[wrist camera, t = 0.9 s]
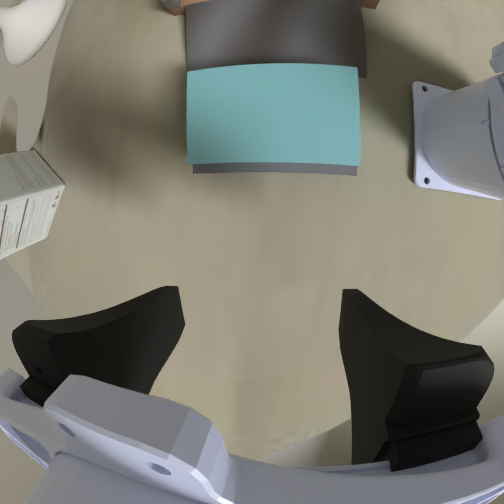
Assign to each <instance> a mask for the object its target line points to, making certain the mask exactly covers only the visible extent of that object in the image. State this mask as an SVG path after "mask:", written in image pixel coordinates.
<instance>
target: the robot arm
mask: <svg viewBox="0 0 504 504" xmlns="http://www.w3.org/2000/svg"><path fill="white" fill-rule="evenodd" d="M489 63H490V65H491V67H492V68H493V70H494V72H495V73H499V72H503V71H504V42H502V43H500V44H498V45H497V46H495V47H494V48H493V49H492V59H491V60H490V62H489ZM422 86H423V87H424V88H425V89H426V92H425V91H423V89H422ZM412 96H413V111H414V183H415V184H416V185H417V186H419V187H425V188H432V189H439V190H446V191H452V192H458V193H464V194H470V195H475V196H481V197H486V198H491V199H496V200H501V199H503V200H504V72H503V73H501V74H498V75H496V76H494V77H492V78H489V79H486V80H483V81H480V82H478V83H475V84H472V85H469V86H466V87H464V88H461V89H458V90H456V91H452V90H449V89H445V88H442V87H438V86H435V85H431V84H427V83H423V82H419V81H416V82H414V83H413V84H412ZM425 178H427V179H428V182H427V183H426V184H425V183H424V179H425ZM184 326H185V321H184V316H183V311H182V306H181V300H180V295H179V289H178V286H164V287H160V288H157V289H155V290H152V291H150V292H148V293H145V294H143V295H141V296H138V297H136V298H134V299H131V300H129V301H126V302H124V303H121V304H119V305H116V306H114V307H111V308H108V309H105V310H102V311H99V312H95V313H91V314H87V315H82V316H77V317H72V318H65V319H56V320H28V321H25V322H24V323H22V324H21V325H20V326H18V327H17V328H16V329H15V330H13V333H12V340H13V344H14V347H15V350H16V352H17V354H18V356H19V358H20V360H21V362H22V364H23V365H24V367H25V369H26V371H27V372H28V374H29V377H28V378H27V379H26V380H25V379H24V378H23V376H21V375H20V374H19V373H17V372H15V371H14V370H12V369H10V368H9V369H8V370H7V371H5V372H4V373H3V374H2V375H1V376H0V427H1V429H2V430H3V431H4V432H5V433H6V434H7V436H8V437H9V438H10V439H11V440H13V441H14V442H15V443H16V444H17V445H18V446H19V447H21V448H22V449H23V450H24V451H25V452H26V453H28V454H29V455H30V456H31V457H32V458H33V459H35V460H36V461H37V462H38V463H40V464H41V465H42V466H44V467H45V468H46V471H45V472H44V474H43V475H42V476H41V478H40V479H39V481H38V482H37V483H36V485H35V486H34V488H33V489H32V491H31V492H30V494H29V495H28V497H27V498H26V500H25V501H24V503H23V504H487V503H489V502H491V501H492V500H494V499H495V498H496V497H498V496H499V495H500V494H502V493H503V492H504V415H502V416H500V417H498V418H495V419H493V420H490V421H488V422H486V423H485V424H483V425H482V426H481V427H480V428H479V426H478V424H477V422H476V420H478V418H479V416H480V414H479V412H478V410H477V408H476V407H477V406H478V404H479V402H480V401H481V399H482V398H483V396H484V394H485V393H486V391H487V389H488V387H489V385H490V383H491V381H492V378H493V374H494V364H493V362H492V361H491V359H490V358H489V356H488V355H487V353H486V352H485V350H484V349H483V348H482V346H477V345H471V344H465V343H459V342H455V341H451V340H447V339H443V338H440V337H437V336H434V335H431V334H429V333H426V332H424V331H421V330H419V329H417V328H415V327H413V326H411V325H409V324H407V323H405V322H403V321H401V320H400V319H398V318H396V317H395V316H393V315H392V314H390V313H389V312H387V311H386V310H384V309H383V308H382V307H380V306H379V305H378V304H376V303H375V302H374V301H372V300H371V299H370V298H369V297H367V296H366V295H365V294H363V293H362V292H361V291H359V290H358V289H343V292H342V303H341V313H340V322H339V340H340V350H341V354H342V359H343V363H344V368H345V372H346V377H347V381H348V386H349V392H350V400H351V417H352V463H351V465H347V466H331V467H284V466H279V465H274V464H269V463H265V462H260V461H256V460H252V459H248V458H244V457H240V456H237V455H233V454H229V453H227V451H226V448H225V444H224V441H223V437H222V436H221V434H220V433H219V432H218V430H217V429H216V427H215V426H214V425H213V423H212V422H211V421H210V420H209V419H208V418H206V417H204V416H203V415H201V414H200V413H198V412H197V411H195V410H194V409H192V408H191V407H188V406H185V405H182V404H180V403H177V402H174V401H171V400H169V399H165V398H160V397H156V396H152V395H149V392H150V390H151V388H152V386H153V383H154V381H155V379H156V378H157V376H158V374H159V372H160V371H161V369H162V367H163V366H164V364H165V363H166V361H167V359H168V358H169V356H170V355H171V353H172V351H173V350H174V348H175V346H176V345H177V343H178V341H179V339H180V336H181V334H182V332H183V329H184Z"/></svg>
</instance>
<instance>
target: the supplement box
mask: <svg viewBox="0 0 504 504" xmlns="http://www.w3.org/2000/svg"><path fill="white" fill-rule="evenodd" d="M64 187H65V184H64V183H63V182H62V181H61V180H60V179H59V178H58V176H57V175H56V174H55V173H54V172H53V171H52V170H51V169H50V167H49V166H48V165H47V164H46V163H45V162H44V161H43V159H42V158H41V157H40V156H39V155H38V153H37V152H36V151H35V150H31V151H22V152H14V153H7V154H1V155H0V259H2V258H4V257H6V256H8V255H10V254H12V253H14V252H17V251H19V250H21V249H23V248H25V247H27V246H30V245H32V244H34V243H36V242H38V241H41V240H43V239H45V238H47V235H48V232H49V230H50V226H51V223H52V220H53V217H54V215H55V212H56V209H57V206H58V203H59V201H60V198H61V195H62V193H63V190H64Z"/></svg>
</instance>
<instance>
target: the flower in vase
mask: <svg viewBox="0 0 504 504" xmlns="http://www.w3.org/2000/svg"><path fill="white" fill-rule="evenodd" d="M66 3H67V0H26V1H24V2H22V3H21V4H19V5H17V6H15V7H0V29H1V30H2V32H3V40H4V49H5V54H6V58H7V60H8V62H9V63H10V64H12V65H13V66H19V65H21V64H23V63H25V62H27V61H29V60H30V59H31V58H32V57H33V56H35V55H36V53H37V52H38V51H39V50H40V49H41V48H42V47H43V45H44V44H45V43H46V41H47V40H48V39H49V37H50V35H51V34H52V32H53V31H54V29H55V28H56V26H57V24H58V22H59V20H60V18H61V16H62V14H63V12H64V9H65V6H66Z"/></svg>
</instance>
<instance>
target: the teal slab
mask: <svg viewBox="0 0 504 504" xmlns="http://www.w3.org/2000/svg"><path fill="white" fill-rule="evenodd" d="M360 155H361V135H360V101H359V84H358V71H357V67H349V66H338V65H325V64H304V63H272V64H250V65H236V66H226V67H217V68H209V69H202V70H195V71H189V72H187V165H190V164H193V174H196V173H223V172H292V173H319V174H338V175H352V176H357V166H360Z"/></svg>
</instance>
